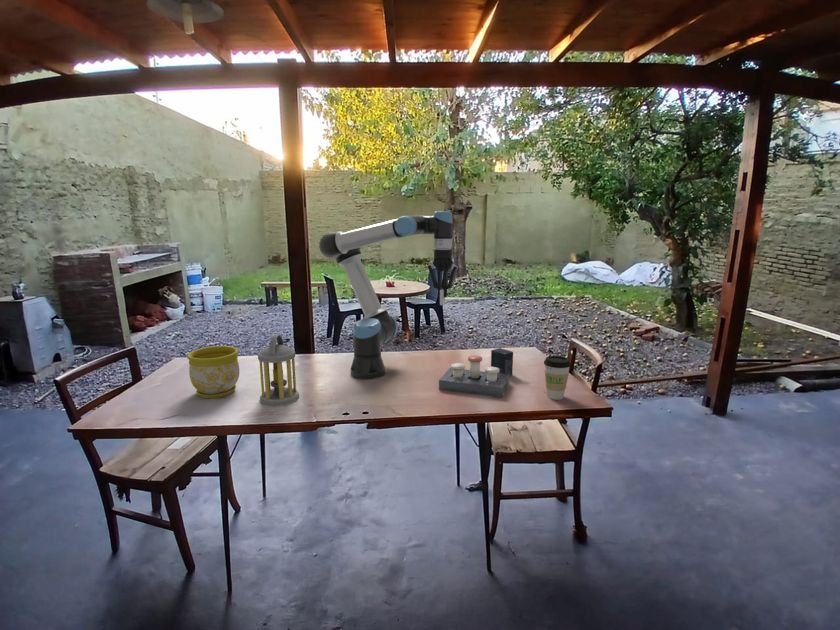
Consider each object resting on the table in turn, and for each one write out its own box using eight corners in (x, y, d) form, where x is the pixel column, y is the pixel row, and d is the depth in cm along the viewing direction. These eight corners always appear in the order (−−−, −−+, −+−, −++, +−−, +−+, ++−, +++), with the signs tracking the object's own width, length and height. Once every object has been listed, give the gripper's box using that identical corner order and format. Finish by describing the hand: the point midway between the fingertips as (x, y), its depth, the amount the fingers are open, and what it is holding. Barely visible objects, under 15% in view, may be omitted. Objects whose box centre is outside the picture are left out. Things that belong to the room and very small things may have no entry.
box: (512, 374, 205) (513, 351, 203) (503, 377, 202) (504, 353, 199) (498, 370, 211) (499, 347, 209) (490, 373, 207) (490, 349, 205)
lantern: (267, 391, 186) (263, 329, 181) (303, 391, 186) (300, 329, 180) (254, 405, 172) (248, 339, 167) (292, 406, 172) (288, 339, 167)
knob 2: (483, 389, 187) (483, 370, 185) (486, 384, 192) (486, 366, 191) (497, 391, 185) (497, 372, 184) (499, 386, 190) (500, 367, 189)
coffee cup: (536, 394, 183) (538, 356, 180) (557, 390, 187) (559, 353, 184) (553, 403, 175) (555, 364, 171) (574, 399, 178) (577, 361, 175)
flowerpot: (218, 404, 174) (214, 361, 170) (180, 397, 180) (175, 356, 177) (251, 387, 190) (248, 348, 187) (215, 382, 197) (212, 343, 193)
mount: (438, 389, 188) (439, 380, 187) (450, 376, 203) (450, 367, 202) (501, 397, 180) (502, 387, 179) (508, 383, 194) (509, 374, 194)
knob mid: (466, 378, 189) (466, 358, 187) (469, 373, 194) (470, 355, 192) (480, 379, 187) (480, 360, 185) (483, 375, 192) (483, 356, 190)
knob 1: (449, 385, 192) (449, 366, 190) (452, 380, 197) (453, 362, 195) (462, 387, 190) (462, 368, 188) (466, 382, 195) (466, 364, 193)
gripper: (425, 249, 195) (425, 305, 200) (455, 249, 191) (454, 307, 196) (430, 247, 202) (430, 302, 207) (460, 248, 198) (459, 304, 203)
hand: (442, 304), depth 202 cm, fingers closed
